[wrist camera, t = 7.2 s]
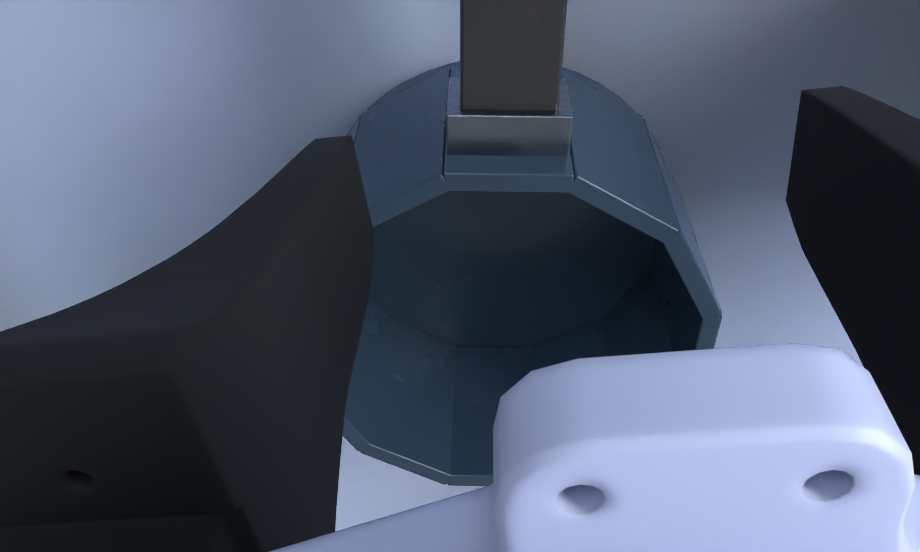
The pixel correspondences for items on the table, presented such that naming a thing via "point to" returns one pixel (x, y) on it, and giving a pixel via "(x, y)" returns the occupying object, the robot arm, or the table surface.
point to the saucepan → (509, 241)
